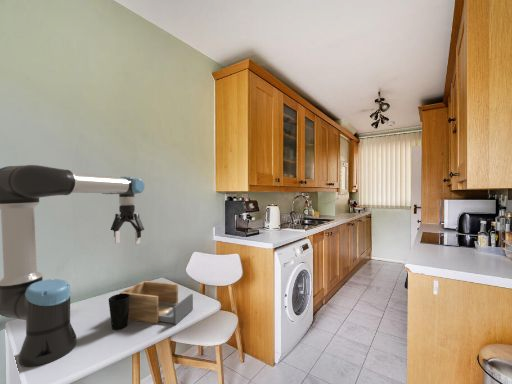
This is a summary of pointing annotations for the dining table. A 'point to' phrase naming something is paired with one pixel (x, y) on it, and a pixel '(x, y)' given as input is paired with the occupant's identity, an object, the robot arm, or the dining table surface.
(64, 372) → the dining table surface
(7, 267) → the robot arm
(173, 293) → the housing
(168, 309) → the grey drawer
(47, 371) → the dining table surface
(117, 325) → the cup
